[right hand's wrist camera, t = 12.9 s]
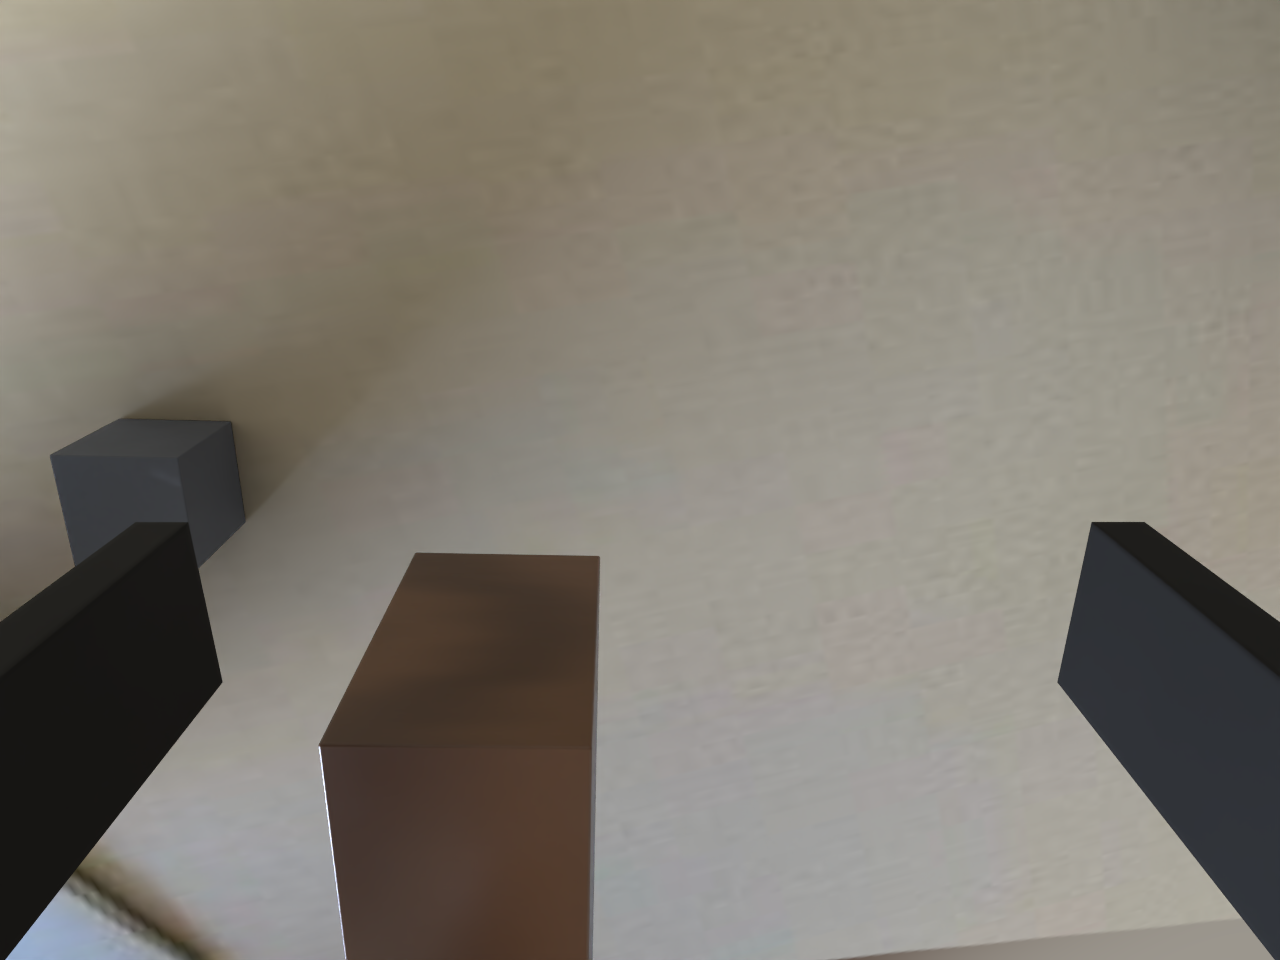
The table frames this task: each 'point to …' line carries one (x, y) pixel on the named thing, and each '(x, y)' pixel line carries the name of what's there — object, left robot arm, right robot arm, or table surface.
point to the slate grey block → (150, 482)
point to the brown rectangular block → (470, 765)
